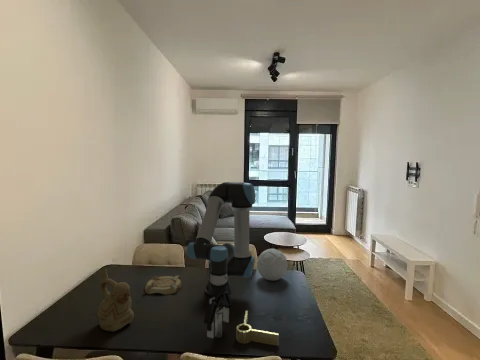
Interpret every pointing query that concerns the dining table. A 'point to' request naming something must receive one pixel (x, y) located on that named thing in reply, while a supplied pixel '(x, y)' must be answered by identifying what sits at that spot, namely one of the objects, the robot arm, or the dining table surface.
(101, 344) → the dining table surface
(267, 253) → the decorative sphere
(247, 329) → the hinge
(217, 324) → the pin
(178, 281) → the ashtray
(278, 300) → the dining table surface
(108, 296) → the ceramic vessel
